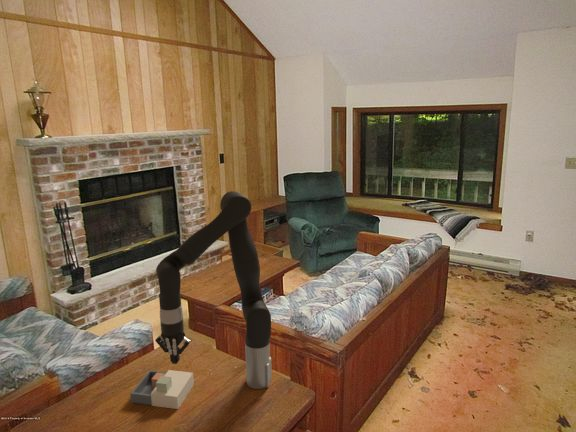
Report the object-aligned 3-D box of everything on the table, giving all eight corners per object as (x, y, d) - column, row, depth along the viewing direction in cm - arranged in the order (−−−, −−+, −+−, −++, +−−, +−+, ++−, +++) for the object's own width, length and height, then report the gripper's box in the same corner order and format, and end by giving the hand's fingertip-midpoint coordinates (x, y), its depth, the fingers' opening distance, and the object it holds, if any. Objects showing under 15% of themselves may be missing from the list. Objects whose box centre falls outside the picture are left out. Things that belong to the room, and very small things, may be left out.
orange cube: (165, 373, 161) (156, 372, 162) (160, 379, 157) (151, 378, 158) (166, 382, 162) (157, 381, 163) (161, 389, 158) (152, 388, 159)
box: (169, 381, 163) (168, 372, 162) (151, 405, 150) (150, 396, 149) (150, 379, 165) (149, 370, 164) (131, 403, 151) (130, 393, 150)
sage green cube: (172, 385, 153) (171, 377, 152) (167, 392, 149) (166, 384, 148) (161, 384, 154) (161, 375, 153) (156, 391, 150) (155, 382, 149)
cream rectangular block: (193, 384, 162) (193, 372, 160) (178, 409, 148) (177, 396, 147) (169, 381, 163) (168, 370, 162) (151, 405, 150) (150, 393, 149)
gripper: (194, 314, 146) (197, 358, 150) (158, 311, 148) (162, 354, 153) (185, 325, 139) (188, 371, 143) (148, 321, 141) (152, 366, 145)
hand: (175, 362), depth 148 cm, fingers closed
